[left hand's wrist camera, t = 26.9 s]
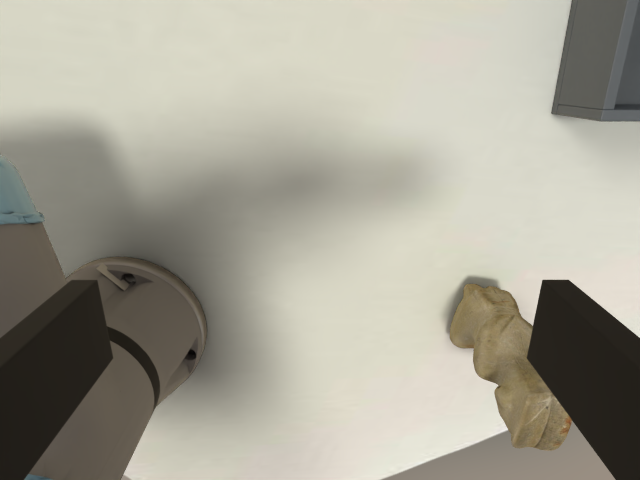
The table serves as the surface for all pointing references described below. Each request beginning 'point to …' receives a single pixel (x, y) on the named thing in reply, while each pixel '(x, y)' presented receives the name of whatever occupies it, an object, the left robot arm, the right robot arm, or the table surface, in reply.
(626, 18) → the grey box
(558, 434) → the sculpture
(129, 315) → the left robot arm
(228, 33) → the table surface
